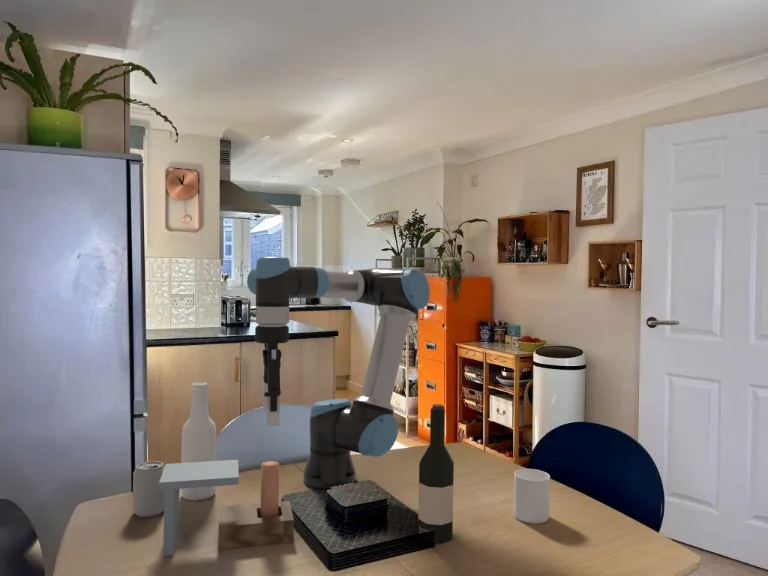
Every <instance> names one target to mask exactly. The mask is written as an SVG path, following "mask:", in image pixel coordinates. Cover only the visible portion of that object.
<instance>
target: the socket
mask: <svg viewBox="0 0 768 576" xmlns="http://www.w3.org/2000/svg"><path fill="white" fill-rule="evenodd" d="M260 516H261V502H258V503H257V502H256V503H248V504H245V503H244V504H235V505H234V504H233V505H224V506H223V505H222V506H219V518H218V545H217V546H218V547H217V548H218V549H217V551H221V550H229V549H230V550H231V549H240V548H251V547H252V548H253V547H262V546H271V545H281V544H290V543H294V539H295V538H294V535H295V528H294V527H295V521H294V520H295V519H294V514H293V510H292V507H291V502H290V501H289V500H282V501H279V504H278V516H274V517H263V518H260Z"/></svg>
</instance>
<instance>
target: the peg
mask: <svg viewBox="0 0 768 576" xmlns="http://www.w3.org/2000/svg"><path fill="white" fill-rule="evenodd" d="M260 471H261V473H260V503H261V516H260V518H263V517H274V516H278V504H279V502H280V501H279V499H280V498H279V494H280V492H279V491H280V490H279V489H280V485H279V483H280V463H279V462H278V461H273V460H271V461H270V460H268V461H265V462H261V464H260Z"/></svg>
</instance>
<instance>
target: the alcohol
mask: <svg viewBox="0 0 768 576" xmlns="http://www.w3.org/2000/svg"><path fill="white" fill-rule="evenodd" d="M208 389H209V388H208V382H205V381H204V382H203V381H198V382H193V383H191V391H192V392H191V401H190V402H191V404H190V413H189V417H188V419H187V420H186V421H185V423H184V424H183V426H182V430H181V455H180V456H181V462H180V463H190V462H206V461H217V426H216V423H215V422H214V420H213V419H212V418H211V417H210V414H209V400H208V397H209V396H208ZM216 488H217V486H211V487H197V488H183V489H180V495H181V497H182V498H183V499H184V500H186V501H189V500H193V501H192V502H198V501H199V500H200V501H204V499H205V500H208V499H211V498H212V497H213V496H214V494H215V493H216V491H217V490H216ZM197 500H198V501H197ZM200 501H199V502H200Z"/></svg>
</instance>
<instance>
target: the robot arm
mask: <svg viewBox="0 0 768 576" xmlns="http://www.w3.org/2000/svg"><path fill="white" fill-rule="evenodd" d="M290 262H291V261H290V259H289V258H288V257H282V256H261V257H259V258H258V259H257V261H256V267H254V268H252V269H251V270H250V271H249V272H248V275H247V278H246V279H247V280H246V282H247V283H246V285H247V288H248V290H249V291H250V293H251V294H253V295H255V309H253V311H252V314H253V315H255V323H256V324H257V325H256V327H254V330H255V332H254V340H255V342H256V343H258V344H264V345H263V346H264V349H262V359H263V360H262V361H263V362H262V363H263V364H262V365H263V376H262V377H263V412H266V427H279V426H280V416H281V415H280V413H281V409H280V407H281V405H280V403H281V396H280V395H281V394H282V390H281V370H280V369H281V365H282V364H281V359H282V351H281V349H279V345H278V344H286V343H288V342H289V339H290V327H289V326H288V325H287V324H289V323H290V299H315V298H321V299H322V298H323V299H324V298H326V299H344V300H345V301H347V302H351V303H358V304H359V303H360V304H365V305H370V306H377V309H378V312H379V313H380V318H379V320H378V326H377V329H376V334H375V337H374V341H373V344H372V345H373V346H372V350H371V353H370V356H369V360H368V365H367V368H366V371H365V372H366V373H365V377H364V380H363V383H362V388H361V392H360V395H359V396H357V397H355V398H353V402H352V401H351V400H350V399H348V398H335V399H333V398H332V399H325V400H319V401H317V402H314V403H313V404H312V405H311V406H310V407H311V408H310V416H309V455H308V459H307V461H306V464H305V467H304V469H303V470H304V471H303V478H302V479H303V483H304V484H305V485H307V486H309V487H311V488H315V489H321V488H323V489H321V490H328V489H327V488H330V487H333V486H339V485H344V484H348V483H352V482H354V483H355V482H356V480H357V479H356V478H357V473H356V472H357V471H356V468H355V465H354V461H353V459H352V455H351V452H354V453H356V454H361V455H362V456H366V457H374V458H379V457H382V456H385V455H386V454H387V453H388V452H389V451H390V450H391V449H392V447H393V446H394V445H395V442H396V441H397V438H398V434H399V433H398V432H399V426H398V421H397V419H396V418H395V416H394V411H395V409H394V407H393V406H392V404H391V401H392V398H393V397H392V396H393V392H394V389H395V384H396V382H397V381H396V380H397V377H398V372H399V369H400V364H401V359H402V356H403V351H404V347H405V344H406V339H407V336H408V335H407V334H408V331H409V326H410V322H411V321H413V320H415V319H416V318H417V315H418V312H419V310H421V309H425V308H426V306H427V305H428V303H429V300H430V298H431V297H430V296H431V290H430V284H429V283H430V282H429V281H428V278H427V276H426V274H425V273H424V272H423V271H422V270H420V269H418V268H413V267H412V268H410V267H394V268H393V267H378V268H377V267H376V268H368V269H349V270H347V271H346V272H344V271H343V272H341V271H330V270H329V271H328V270H325V269H324V268H321V267H315V266H291V263H290Z"/></svg>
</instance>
